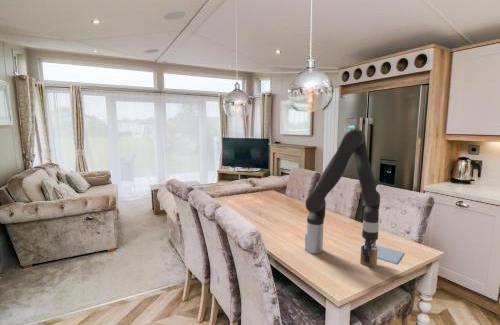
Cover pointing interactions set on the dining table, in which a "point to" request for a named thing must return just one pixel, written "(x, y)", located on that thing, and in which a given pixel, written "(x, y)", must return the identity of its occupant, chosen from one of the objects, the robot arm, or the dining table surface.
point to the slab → (372, 258)
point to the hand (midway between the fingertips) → (368, 260)
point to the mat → (388, 254)
